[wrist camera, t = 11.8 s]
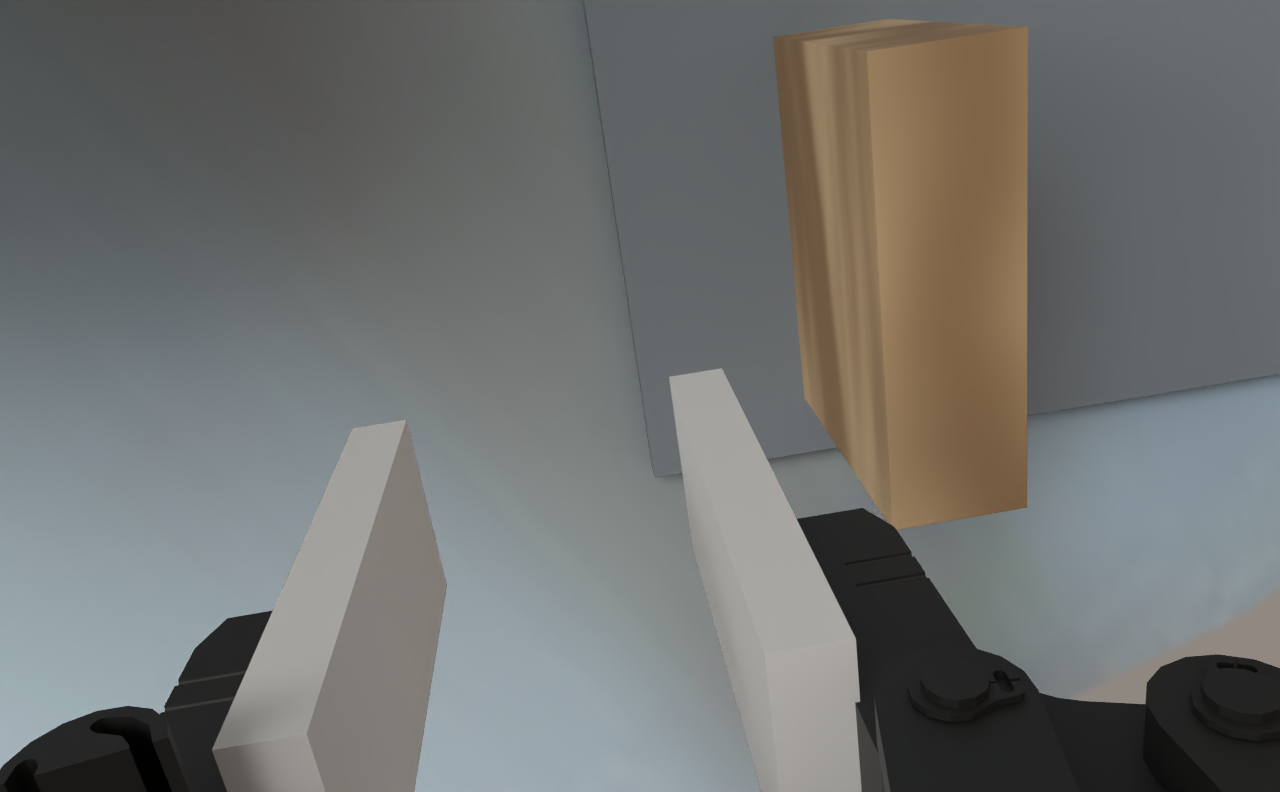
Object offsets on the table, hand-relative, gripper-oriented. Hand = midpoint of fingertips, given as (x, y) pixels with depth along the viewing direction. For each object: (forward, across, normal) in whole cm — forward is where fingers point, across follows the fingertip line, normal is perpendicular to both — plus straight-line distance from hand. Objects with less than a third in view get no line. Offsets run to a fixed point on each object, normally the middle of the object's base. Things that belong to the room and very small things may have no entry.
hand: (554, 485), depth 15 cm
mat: (+15, +12, 0) cm, 19 cm away
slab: (+14, +8, 0) cm, 16 cm away
